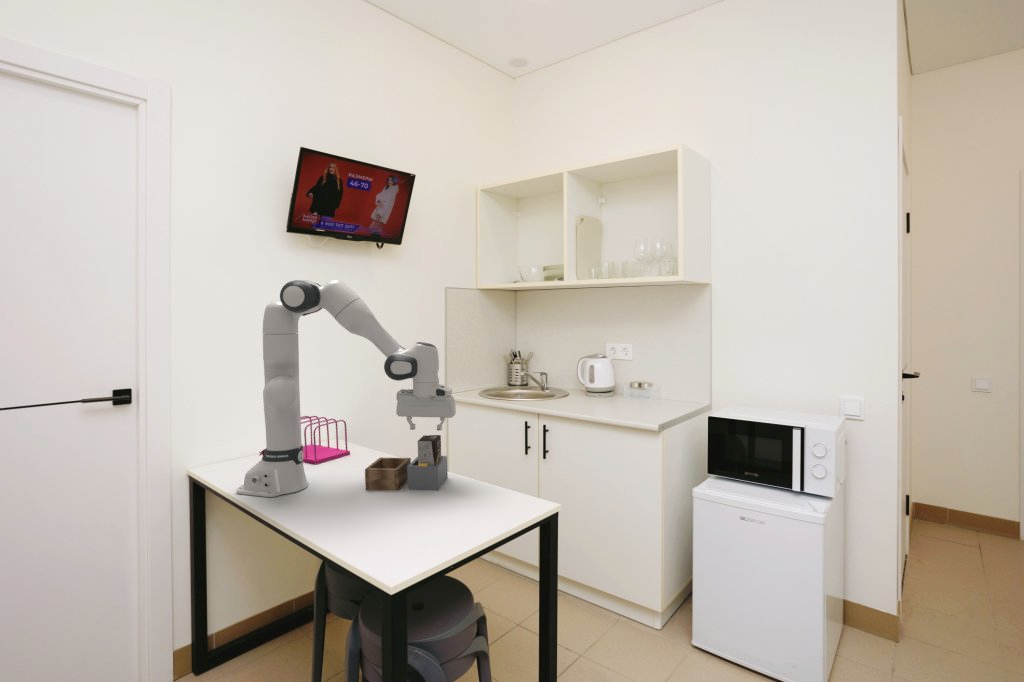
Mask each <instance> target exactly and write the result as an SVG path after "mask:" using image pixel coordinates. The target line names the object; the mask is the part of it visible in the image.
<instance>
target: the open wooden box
mask: <svg viewBox="0 0 1024 682" xmlns="http://www.w3.org/2000/svg"><path fill="white" fill-rule="evenodd" d="M411 460H412V458H411V457H379V458H377V459H376V460H375V461H373V463H371V464H369V465H368V466H367V467H366V468H364V480H365V483H364V484H365V486H364V487H365V491H366V490H367V491H369V490H370V491H375V490H376V491H400V489H402V488H403V486H405V484H406V483H408V472H407V466H408V465H409V464H410V463H411V462H412V461H411Z"/></svg>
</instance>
